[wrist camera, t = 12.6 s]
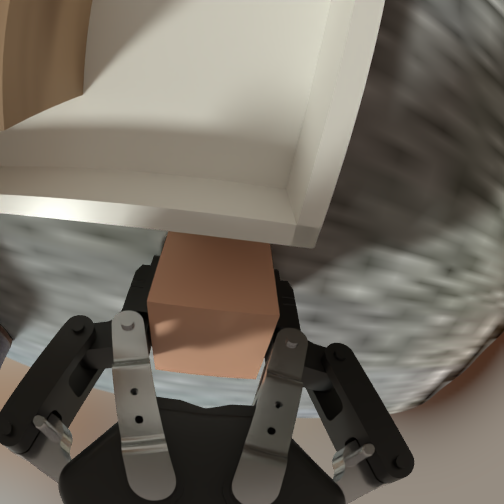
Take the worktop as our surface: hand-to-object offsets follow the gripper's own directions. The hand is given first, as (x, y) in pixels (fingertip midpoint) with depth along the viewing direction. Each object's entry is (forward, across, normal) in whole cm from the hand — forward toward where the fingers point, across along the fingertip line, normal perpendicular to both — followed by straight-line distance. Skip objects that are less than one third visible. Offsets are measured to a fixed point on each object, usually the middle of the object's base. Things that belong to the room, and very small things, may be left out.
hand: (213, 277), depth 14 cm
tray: (0, +4, -10) cm, 11 cm away
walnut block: (-1, +8, -10) cm, 13 cm away
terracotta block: (0, 0, 0) cm, 0 cm away
